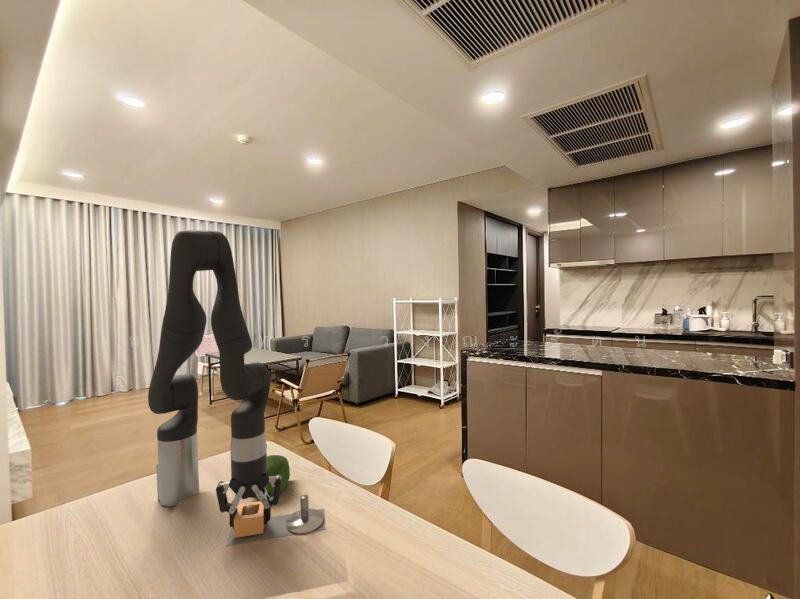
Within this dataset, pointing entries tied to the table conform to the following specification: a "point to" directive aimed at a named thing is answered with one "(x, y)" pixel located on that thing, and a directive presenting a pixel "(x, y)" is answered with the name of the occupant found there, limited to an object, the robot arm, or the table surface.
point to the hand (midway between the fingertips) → (250, 524)
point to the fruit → (277, 471)
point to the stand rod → (250, 509)
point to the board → (269, 531)
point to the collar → (249, 520)
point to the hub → (304, 519)
